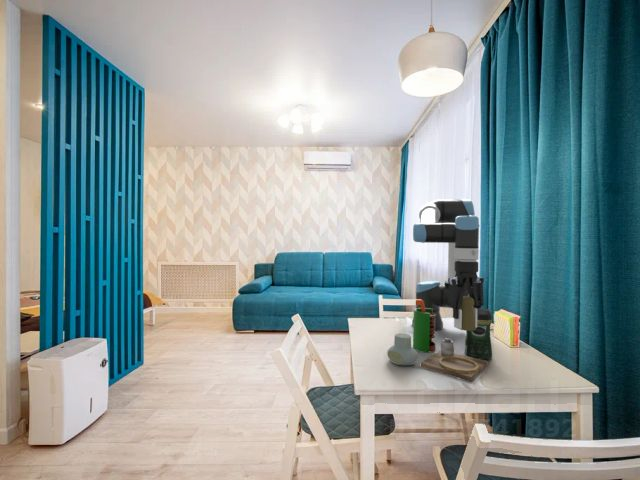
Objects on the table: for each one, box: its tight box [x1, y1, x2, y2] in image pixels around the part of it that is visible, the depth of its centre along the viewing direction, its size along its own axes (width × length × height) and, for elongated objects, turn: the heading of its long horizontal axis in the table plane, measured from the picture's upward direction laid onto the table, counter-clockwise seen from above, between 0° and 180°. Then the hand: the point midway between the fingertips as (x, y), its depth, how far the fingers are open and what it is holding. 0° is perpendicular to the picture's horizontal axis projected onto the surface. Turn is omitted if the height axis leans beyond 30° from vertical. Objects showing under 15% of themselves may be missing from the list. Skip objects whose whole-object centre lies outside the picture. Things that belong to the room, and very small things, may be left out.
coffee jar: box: [464, 308, 493, 361], centre depth 123 cm, size 10×8×19 cm
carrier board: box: [420, 337, 489, 383], centre depth 113 cm, size 18×17×8 cm
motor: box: [412, 298, 437, 353], centre depth 132 cm, size 10×9×20 cm
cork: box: [459, 296, 476, 332], centre depth 110 cm, size 6×6×11 cm
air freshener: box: [386, 332, 419, 367], centre depth 116 cm, size 11×8×10 cm
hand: (465, 327), depth 110 cm, fingers closed on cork, 6 cm apart
